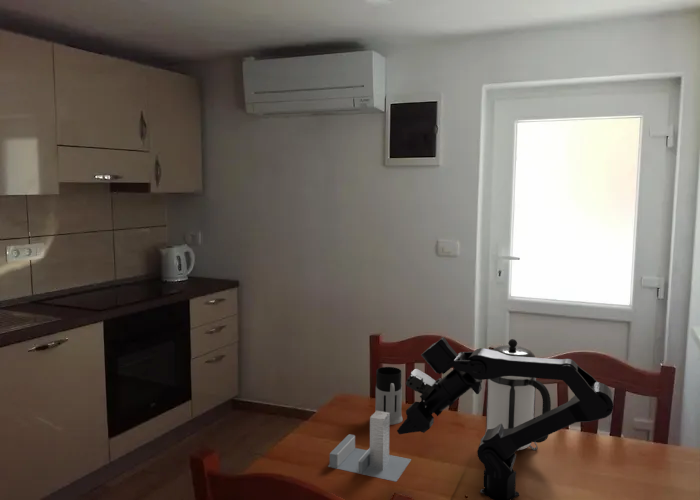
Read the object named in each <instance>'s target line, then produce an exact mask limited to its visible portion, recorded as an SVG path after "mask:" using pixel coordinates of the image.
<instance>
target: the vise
mask: <svg viewBox="0 0 700 500" xmlns="http://www.w3.org/2000/svg"><path fill="white" fill-rule="evenodd" d="M411 461H412V459H411V458H406V457H401V456H397V455H392V454H389V463H388V464H387V466H386V467H385V468H384V469H383V470H379V469H375V468H370V447H369V448H368V449H362V448H358V447H356V435H355V434H351V433H350V434H348V435H346V436H345V437H344V438H343V439H342V441H340V442H339V444H337V446H335V447H334V448H333V449H332V450H331V452H329V464H328V465H327V467H328V468H332V469H336V470H337V469H338V470H342V471H345V472H350V473H354V474H360V475H364V476H369V477H372V478H373V477H374V478H378V479H383V480H387V481H391V482H395V483H396V482H397V481H398V480H399V478H400V477H401V476H402V474H403V473H404V471H405V470H406V469H407V467H408V466H409V464H410V462H411Z"/></svg>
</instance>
